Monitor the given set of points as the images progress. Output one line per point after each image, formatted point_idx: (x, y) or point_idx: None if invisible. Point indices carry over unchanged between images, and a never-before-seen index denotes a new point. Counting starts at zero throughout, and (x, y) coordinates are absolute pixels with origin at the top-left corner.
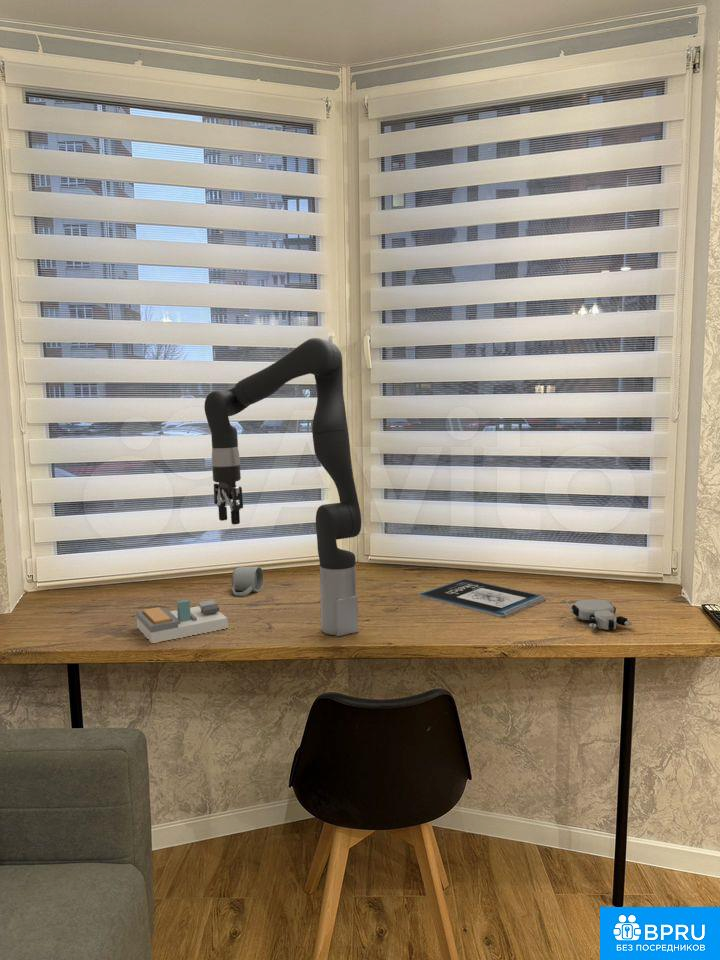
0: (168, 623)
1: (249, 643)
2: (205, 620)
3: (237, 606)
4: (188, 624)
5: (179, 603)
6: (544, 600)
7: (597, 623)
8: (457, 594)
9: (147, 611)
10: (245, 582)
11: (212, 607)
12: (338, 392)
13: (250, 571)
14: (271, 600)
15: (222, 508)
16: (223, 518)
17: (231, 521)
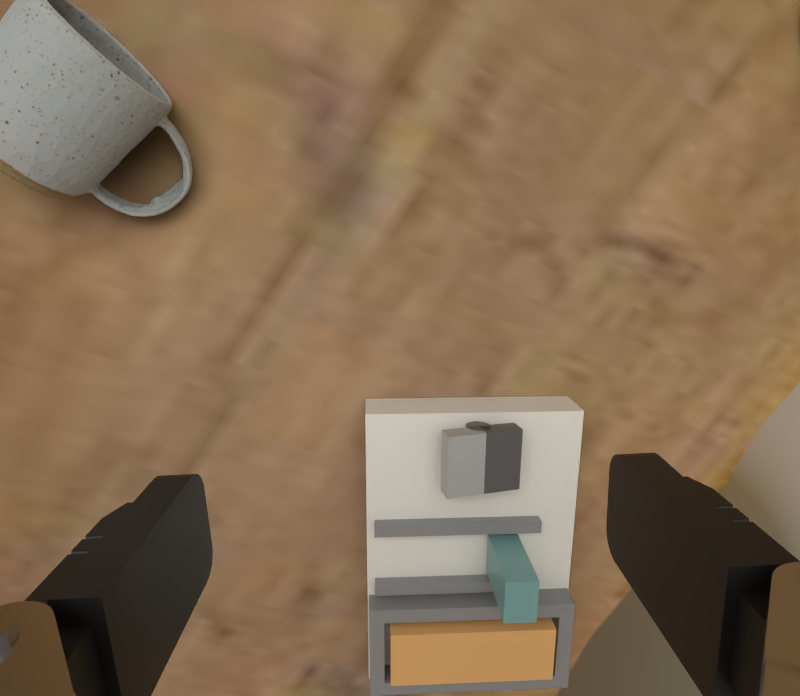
0: (571, 633)
1: (748, 384)
2: (557, 489)
3: (325, 262)
4: (559, 551)
5: (536, 619)
6: None
7: None
8: None
9: (421, 678)
10: (131, 143)
11: (510, 455)
12: None
13: (94, 92)
14: (327, 84)
15: (130, 666)
16: (196, 534)
17: (630, 573)
